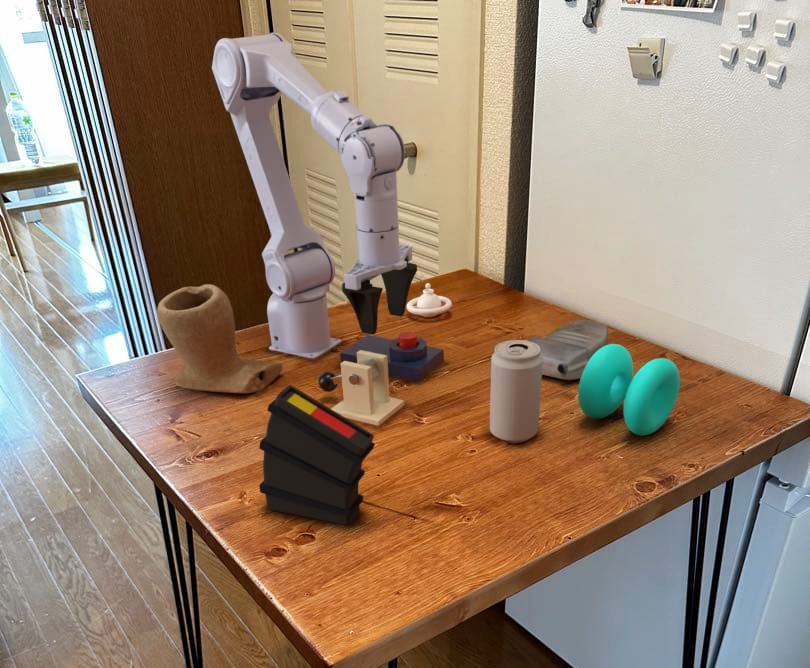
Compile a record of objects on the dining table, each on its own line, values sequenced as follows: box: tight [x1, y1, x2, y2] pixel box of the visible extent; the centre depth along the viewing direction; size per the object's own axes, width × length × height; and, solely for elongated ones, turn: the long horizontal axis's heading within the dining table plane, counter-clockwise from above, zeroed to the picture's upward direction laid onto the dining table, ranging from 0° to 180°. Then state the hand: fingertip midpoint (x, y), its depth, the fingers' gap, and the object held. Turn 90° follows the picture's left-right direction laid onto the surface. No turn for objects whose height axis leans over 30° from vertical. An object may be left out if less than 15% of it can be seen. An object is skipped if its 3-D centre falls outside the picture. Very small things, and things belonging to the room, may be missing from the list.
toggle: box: [318, 359, 380, 393], centre depth 112 cm, size 10×3×3 cm, turn 60°
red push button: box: [397, 331, 418, 348], centre depth 122 cm, size 3×3×2 cm
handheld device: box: [527, 319, 609, 381], centre depth 123 cm, size 10×20×5 cm, turn 146°
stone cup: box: [156, 283, 284, 394], centre depth 117 cm, size 15×12×15 cm
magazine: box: [258, 384, 376, 526], centre depth 90 cm, size 4×13×15 cm, turn 68°
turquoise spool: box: [577, 343, 681, 436], centre depth 104 cm, size 10×10×10 cm
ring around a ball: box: [406, 282, 453, 318], centre depth 140 cm, size 8×6×8 cm
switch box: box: [330, 350, 405, 427], centre depth 111 cm, size 8×7×8 cm
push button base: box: [339, 334, 445, 382], centre depth 124 cm, size 14×8×4 cm, turn 60°
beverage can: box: [489, 339, 543, 444], centre depth 103 cm, size 6×6×12 cm
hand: (383, 323), depth 117 cm, fingers open, 7 cm apart
